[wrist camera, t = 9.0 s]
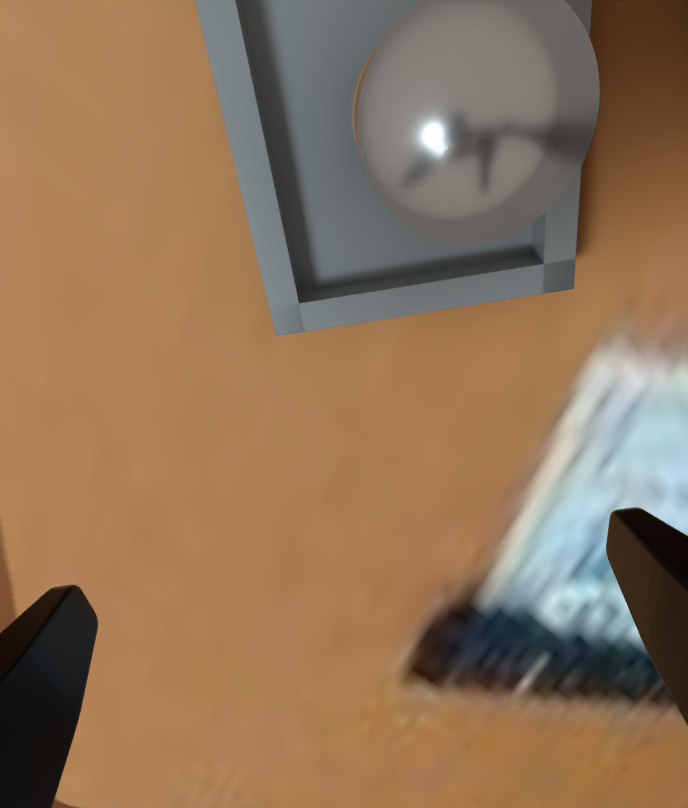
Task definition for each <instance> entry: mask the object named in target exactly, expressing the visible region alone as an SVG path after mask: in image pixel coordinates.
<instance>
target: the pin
mask: <svg viewBox="0 0 688 808" xmlns="http://www.w3.org/2000/svg"><path fill="white" fill-rule="evenodd" d="M599 102H600V81H599V72H598V64H597V60H596V56H595V52H594V48H593V46H592V43H591V41H590V38H589V36H588V33H587V31H586V29H585V27H584V26H583V24H582V22H581V21H580V19H579V17H578V16H577V14H576V13H575V12H574V11H573V10H572V8H571V7H570V6H569V5H568V3H567V2H566V1H564V0H418V1H417V2H416V3H415V4H413V5H412V6H411V7H410V8H409V9H408V10H407V11H406V12H405V13H404V14H403V15H402V16H401V17H400V18H399V19H398V21H397V22H396V23H395V24H394V25H393V26H392V27H391V29H390V30H389V31H388V32H387V33H386V35H385V36H384V37H383V38H382V39H381V41H380V42H379V43H378V44H377V45H376V47H375V48H374V49H373V50H372V51H371V52H370V54H369V55H368V56H367V57H366V58H365V60H364V61H363V62H362V63H361V65H360V66H359V68H358V69H357V71H356V73H355V75H354V77H353V79H352V82H351V85H350V89H349V93H348V100H347V111H348V119H349V124H350V127H351V130H352V133H353V136H354V138H355V141H356V144H357V147H358V150H359V153H360V155H361V158H362V161H363V164H364V167H365V169H366V172H367V175H368V178H369V180H370V182H371V184H372V186H373V188H374V190H375V192H376V193H377V195H378V197H379V198H380V200H381V201H382V203H383V204H384V205H385V206H386V208H387V209H388V210H389V211H390V212H391V213H392V214H393V215H394V216H395V217H396V218H397V219H398V220H399V221H400V222H402V223H403V224H404V225H406V226H407V227H409V228H410V229H412V230H413V231H415V232H417V233H419V234H421V235H423V236H425V237H427V238H430V239H434V240H437V241H440V242H446V243H452V244H475V243H483V242H488V241H492V240H496V239H499V238H502V237H504V236H507V235H510V234H512V233H514V232H516V231H518V230H520V229H522V228H523V227H525V226H527V225H528V224H530V223H531V222H533V221H534V220H536V219H537V218H538V217H539V216H541V215H542V214H543V213H544V212H545V211H547V210H548V209H549V208H550V207H551V206H552V205H553V204H554V203H555V202H556V201H557V200H558V199H559V197H560V196H561V195H562V194H563V193H564V191H565V190H566V189H567V187H568V186H569V185H570V183H571V182H572V180H573V179H574V177H575V175H576V174H577V172H578V171H579V169H580V167H581V165H582V163H583V161H584V159H585V157H586V155H587V152H588V149H589V147H590V144H591V141H592V138H593V135H594V131H595V127H596V123H597V118H598V110H599Z"/></svg>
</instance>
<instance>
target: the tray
mask: <svg viewBox="0 0 688 808" xmlns="http://www.w3.org/2000/svg"><path fill="white" fill-rule="evenodd" d="M417 1H418V0H195V3H196V7H197V11H198V15H199V20H200V24H201V28H202V32H203V36H204V40H205V44H206V49H207V53H208V57H209V61H210V65H211V69H212V73H213V78H214V82H215V86H216V90H217V94H218V98H219V102H220V107H221V111H222V115H223V119H224V123H225V127H226V131H227V136H228V140H229V144H230V148H231V152H232V156H233V160H234V165H235V169H236V173H237V177H238V181H239V185H240V189H241V194H242V198H243V202H244V206H245V210H246V214H247V218H248V223H249V227H250V231H251V235H252V239H253V243H254V247H255V252H256V256H257V260H258V264H259V268H260V272H261V276H262V281H263V285H264V289H265V293H266V297H267V301H268V305H269V310H270V314H271V318H272V322H273V326H274V330H275V334H276V336H280V335H286V334H292V333H299V332H305V331H311V330H317V329H324V328H330V327H336V326H343V325H349V324H355V323H361V322H368V321H374V320H380V319H387V318H393V317H399V316H405V315H412V314H418V313H424V312H431V311H437V310H443V309H449V308H456V307H462V306H468V305H475V304H481V303H487V302H493V301H500V300H506V299H512V298H519V297H525V296H531V295H538V294H544V293H550V292H556V291H563V290H569V289H574V274H575V259H576V243H577V228H578V212H579V197H580V181H581V167H580V169H579V171H578V172H577V174H576V175H575V177H574V179H573V180H572V182H571V183H570V185H569V186H568V187H567V189H566V190H565V191H564V193H563V194H562V195H561V196H560V197H559V199H558V200H557V201H556V202H555V203H554V204H553V205H552V206H551V207H550V208H549V209H548V210H547V211H545V212H544V213H543V214H542V215H541V216H539V217H538V218H537V219H536V220H534V221H533V222H531V223H530V224H528V225H527V226H525V227H523V228H522V229H520V230H518V231H516V232H514V233H512V234H510V235H507V236H504V237H502V238H499V239H496V240H492V241H488V242H483V243H475V244H452V243H446V242H440V241H437V240H434V239H430V238H427V237H425V236H423V235H421V234H419V233H417V232H415V231H413V230H412V229H410V228H409V227H407V226H406V225H404V224H403V223H402V222H400V221H399V220H398V219H397V218H396V217H395V216H394V215H393V214H392V213H391V212H390V211H389V210H388V209H387V208H386V206H385V205H384V204H383V203H382V201H381V200H380V198H379V197H378V195H377V193H376V192H375V190H374V188H373V186H372V184H371V182H370V180H369V178H368V175H367V172H366V169H365V167H364V164H363V161H362V158H361V155H360V153H359V150H358V147H357V144H356V141H355V138H354V136H353V133H352V130H351V127H350V124H349V119H348V111H347V100H348V93H349V89H350V85H351V82H352V79H353V77H354V75H355V73H356V71H357V69H358V68H359V66H360V65H361V63H362V62H363V61H364V60H365V58H366V57H367V56H368V55H369V54H370V52H371V51H372V50H373V49H374V48H375V47H376V45H377V44H378V43H379V42H380V41H381V39H382V38H383V37H384V36H385V35H386V33H387V32H388V31H389V30H390V29H391V27H392V26H393V25H394V24H395V23H396V22H397V21H398V19H399V18H400V17H401V16H402V15H403V14H404V13H405V12H406V11H407V10H408V9H409V8H410V7H411V6H412V5H413V4H415V3H416V2H417ZM564 1H566V2H567V3H568V5H569V6H570V7H571V8H572V10H573V11H574V12H575V13H576V14H577V16H578V17H579V19H580V21H581V22H582V24H583V26H584V27H585V29H586V31H587V33H588V36H589V38H590V26H591V10H592V0H564Z"/></svg>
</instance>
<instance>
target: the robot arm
mask: <svg viewBox="0 0 688 808" xmlns="http://www.w3.org/2000/svg"><path fill="white" fill-rule="evenodd" d="M606 551H607V556H608V560H609V562H610V565H611V567H612V569H613V572H614V574H615V577H616V579H617V581H618V584H619V586H620V589H621V591H622V593H623V596H624V598H625V601H626V603H627V605H628V608H629V610H630V613H631V615H632V617H633V620H634V622H635V625H636V627H637V629H638V632H639V634H640V636H641V639H642V641H643V643H644V645H645V648H646V650H647V652H648V654H649V656H650V658H651V659H652V661H653V663H654V665H655V667H656V669H657V671H658V672H659V674H660V676H661V678H662V680H663V682H664V683H665V685H666V687H667V689H668V691H669V693H670V694H671V696H672V698H673V700H674V702H675V703H676V705H677V707H678V709H679V711H680V713H681V714H682V716H683V718H684V720H685V722H686V724H687V725H688V536H687V535H685V534H684V533H682V532H680V531H678V530H677V529H675V528H673V527H672V526H670V525H668V524H667V523H665V522H663V521H662V520H660V519H658V518H657V517H655V516H653V515H652V514H650V513H648V512H647V511H645V510H643V509H641V508H636V507H634V508H627V509H619V510H615V511H613V512H612V513H611V515H610V520H609V528H608V536H607V543H606ZM97 628H98V620H97V616H96V613H95V611H94V610H93V608H92V606H91V605H90V603H89V601H88V600H87V598H86V596H85V595H84V593H83V591H82V590H81V589H80V587H78V586H76V585H66V586H59V587H54V588H51V589H50V590H48V591H47V592H46V593H45V594H44V595H42V596H41V597H40V598H39V599H38V600H37V601H36V602H35V603H33V604H32V605H31V606H30V607H29V608H28V609H27V610H26V611H24V612H23V613H22V614H21V615H20V616H19V617H18V618H17V619H16V620H14V621H13V622H12V623H11V624H10V625H9V626H8V627H7V628H6V629H4V630H3V631H2V632H1V633H0V808H52V805H53V802H54V799H55V796H56V792H57V789H58V786H59V783H60V779H61V776H62V773H63V770H64V766H65V763H66V760H67V757H68V753H69V750H70V747H71V744H72V740H73V737H74V734H75V730H76V727H77V723H78V720H79V716H80V711H81V707H82V703H83V698H84V693H85V688H86V683H87V678H88V673H89V668H90V663H91V659H92V654H93V649H94V644H95V639H96V634H97Z"/></svg>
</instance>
